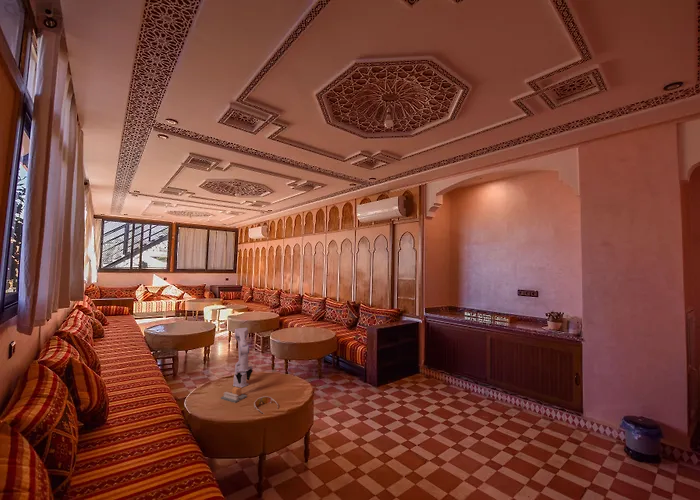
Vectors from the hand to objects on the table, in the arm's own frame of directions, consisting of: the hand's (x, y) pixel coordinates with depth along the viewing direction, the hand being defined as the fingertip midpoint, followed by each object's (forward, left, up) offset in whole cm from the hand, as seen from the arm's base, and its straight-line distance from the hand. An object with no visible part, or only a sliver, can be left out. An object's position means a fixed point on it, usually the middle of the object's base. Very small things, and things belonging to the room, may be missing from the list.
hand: (243, 381), depth 235 cm
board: (0, -9, -8) cm, 12 cm away
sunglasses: (+30, -11, -9) cm, 33 cm away
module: (0, -7, -7) cm, 10 cm away
